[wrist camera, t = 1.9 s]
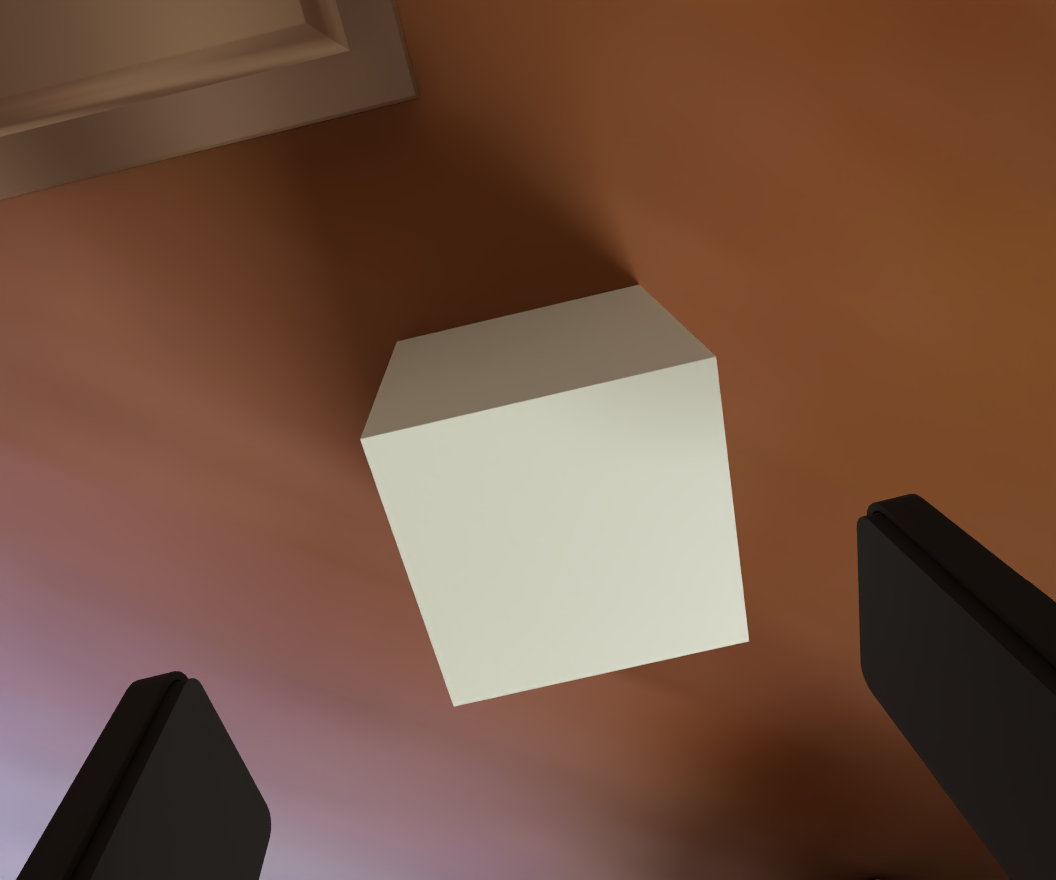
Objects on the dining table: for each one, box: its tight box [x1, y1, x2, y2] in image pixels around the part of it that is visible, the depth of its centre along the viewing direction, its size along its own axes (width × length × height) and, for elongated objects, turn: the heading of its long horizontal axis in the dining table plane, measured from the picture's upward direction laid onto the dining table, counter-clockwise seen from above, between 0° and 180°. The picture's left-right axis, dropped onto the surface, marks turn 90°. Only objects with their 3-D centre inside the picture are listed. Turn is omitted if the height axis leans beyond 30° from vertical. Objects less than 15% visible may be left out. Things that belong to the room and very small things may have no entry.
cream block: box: [360, 285, 749, 706], centre depth 16 cm, size 6×6×6 cm
